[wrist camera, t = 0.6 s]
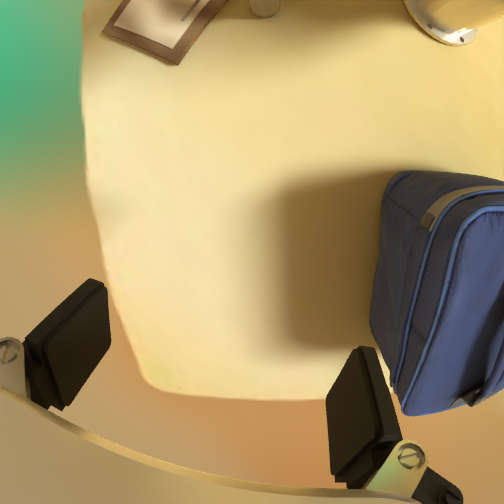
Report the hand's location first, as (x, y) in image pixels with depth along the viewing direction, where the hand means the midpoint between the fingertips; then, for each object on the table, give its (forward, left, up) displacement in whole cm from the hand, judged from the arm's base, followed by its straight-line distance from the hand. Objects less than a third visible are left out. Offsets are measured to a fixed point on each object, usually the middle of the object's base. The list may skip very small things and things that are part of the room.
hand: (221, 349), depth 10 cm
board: (-17, -26, -29) cm, 42 cm away
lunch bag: (-7, +26, -29) cm, 40 cm away
